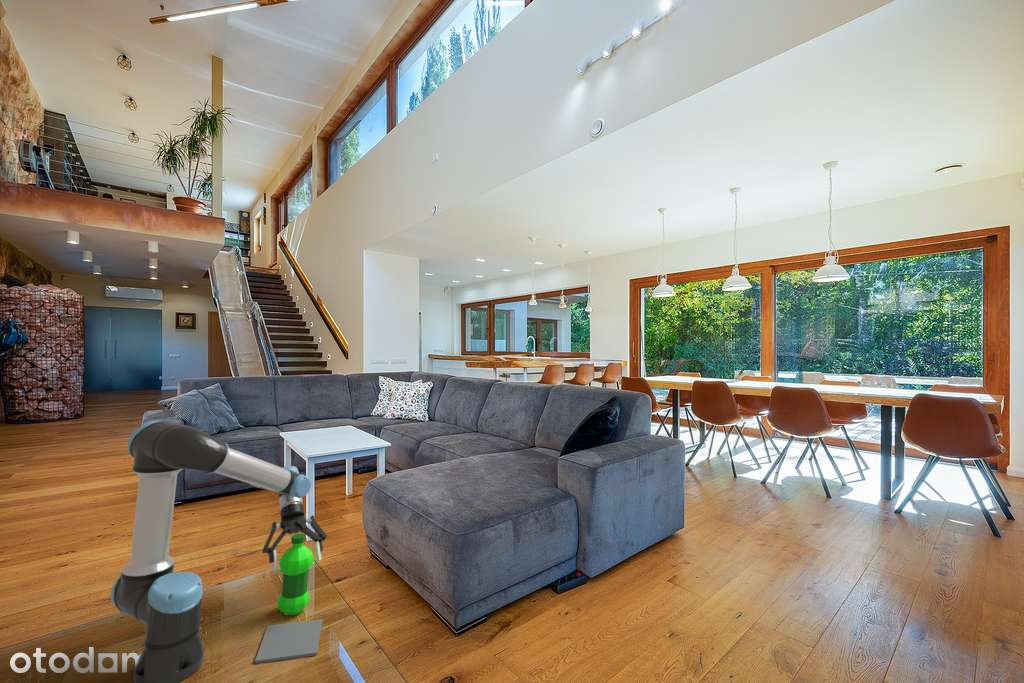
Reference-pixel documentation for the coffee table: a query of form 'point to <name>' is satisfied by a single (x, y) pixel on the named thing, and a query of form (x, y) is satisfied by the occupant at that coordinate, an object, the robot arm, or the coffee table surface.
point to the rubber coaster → (290, 641)
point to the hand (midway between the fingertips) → (298, 566)
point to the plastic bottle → (295, 576)
